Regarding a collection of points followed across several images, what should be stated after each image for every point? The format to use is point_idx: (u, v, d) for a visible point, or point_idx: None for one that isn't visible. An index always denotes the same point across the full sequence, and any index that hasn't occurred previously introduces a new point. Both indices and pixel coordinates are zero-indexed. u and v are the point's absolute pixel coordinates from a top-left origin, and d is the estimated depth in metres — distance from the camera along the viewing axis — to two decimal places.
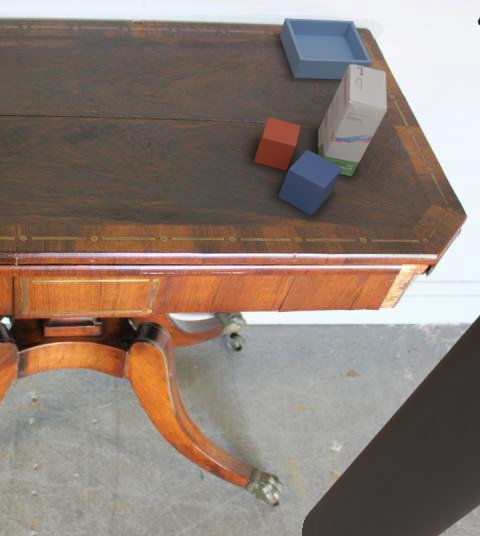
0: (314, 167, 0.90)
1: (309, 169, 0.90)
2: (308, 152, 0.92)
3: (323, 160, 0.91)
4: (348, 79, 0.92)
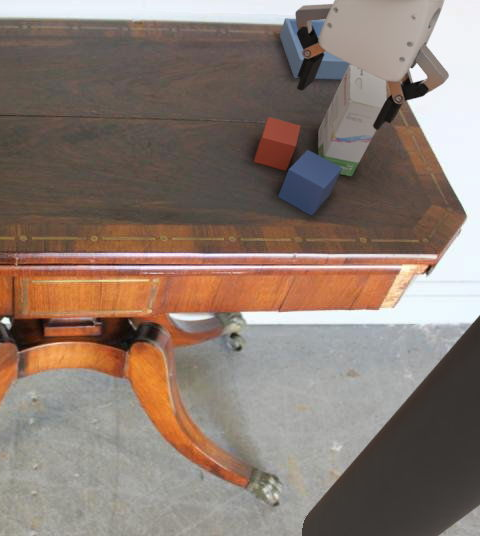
0: (314, 167, 0.90)
1: (309, 169, 0.90)
2: (308, 152, 0.92)
3: (323, 160, 0.91)
4: (348, 79, 0.92)
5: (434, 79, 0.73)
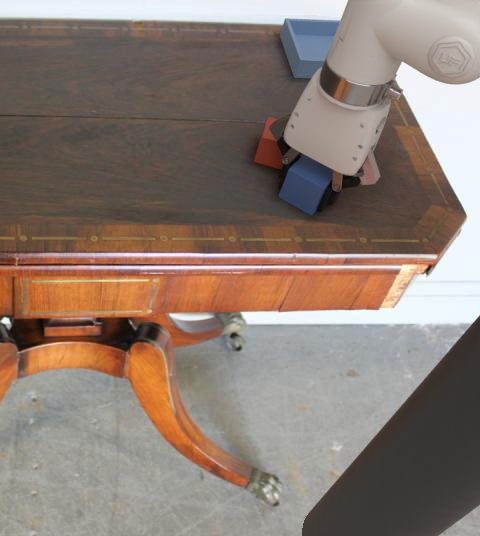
0: (314, 167, 0.90)
1: (309, 169, 0.90)
2: None
3: None
4: None
5: (368, 178, 0.85)
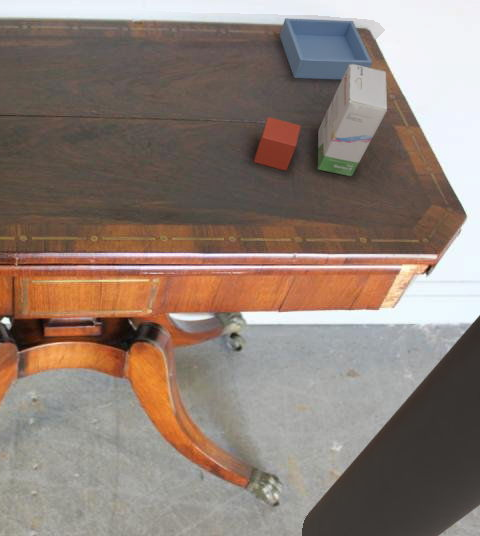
0: None
1: None
2: None
3: None
4: (348, 79, 0.92)
5: None
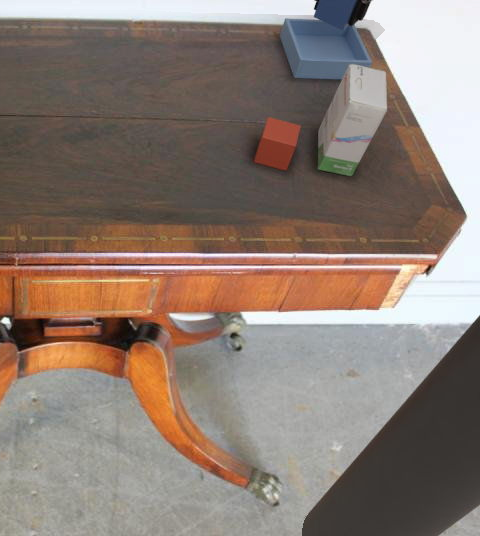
0: None
1: None
2: None
3: None
4: (348, 79, 0.92)
5: None
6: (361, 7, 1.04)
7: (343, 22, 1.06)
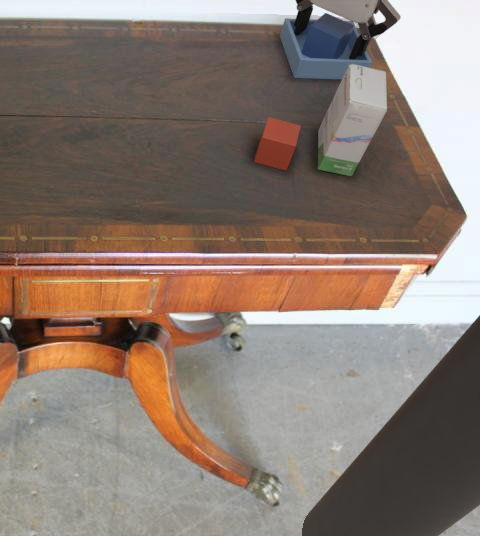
0: (331, 24, 1.10)
1: (327, 25, 1.09)
2: (326, 14, 1.11)
3: (338, 19, 1.11)
4: (348, 79, 0.92)
5: (390, 20, 1.03)
6: (362, 43, 1.07)
7: None
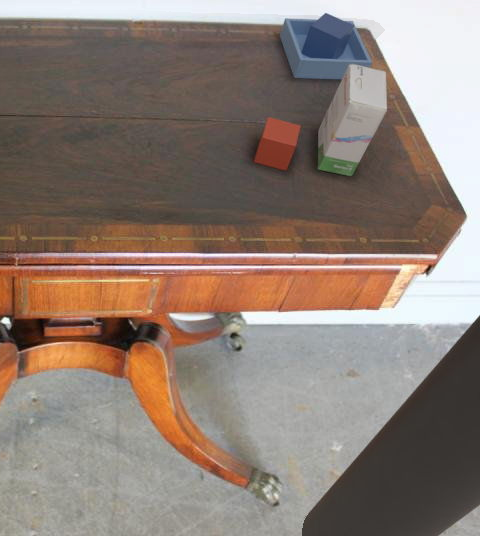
0: (331, 24, 1.10)
1: (327, 25, 1.09)
2: (326, 14, 1.11)
3: (338, 19, 1.11)
4: (348, 79, 0.92)
5: None
6: None
7: None
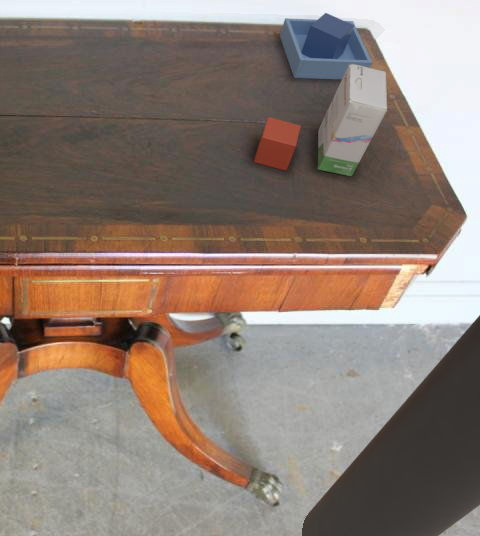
0: (331, 24, 1.10)
1: (327, 25, 1.09)
2: (326, 14, 1.11)
3: (338, 19, 1.11)
4: (348, 79, 0.92)
5: None
6: None
7: None
